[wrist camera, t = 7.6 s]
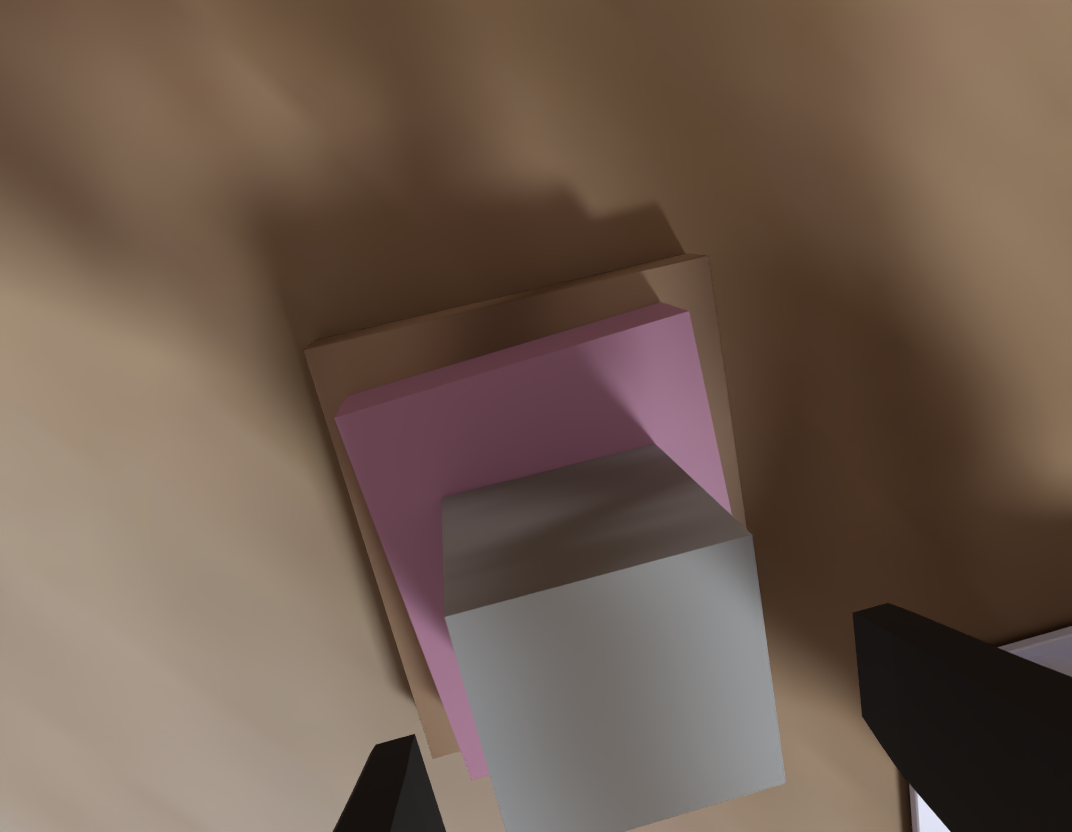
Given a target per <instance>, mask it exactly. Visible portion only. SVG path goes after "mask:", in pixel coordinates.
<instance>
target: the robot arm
mask: <svg viewBox="0 0 1072 832" xmlns="http://www.w3.org/2000/svg"><path fill="white" fill-rule="evenodd" d="M853 622H854V633H855V643H856V654H857V665H858V676H859V687H860V697H861V708H862V717H863V718H864V720H865V721H866V723H867V724H868V726H869V727H870V729H871V730H872V732H873V733H874V735H875V737H876V738H877V740H878V741H879V743H880V744H881V746H882V747H883V749H884V750H885V751H886V753H887V754H888V756H889V757H890V759H891V760H892V761H893V763H894V764H895V766H896V767H897V769H898V770H899V771H900V773H901V774H902V776H903V777H904V778H905V779H906V780H907V782H908V783H909V788H910V802H911V816H912V830H913V832H1072V626H1070V627H1067V628H1063V629H1060V630H1056V631H1053V632H1049V633H1046V634H1042V635H1039V636H1035V637H1032V638H1028V639H1025V640H1022V641H1018V642H1015V643H1011V644H1008V645H1004V646H1001V647H995V646H993V645H990V644H988V643H985V642H983V641H981V640H978V639H976V638H973V637H971V636H969V635H966V634H964V633H961V632H959V631H957V630H954V629H952V628H950V627H947V626H945V625H942V624H940V623H938V622H935V621H933V620H930V619H928V618H926V617H923V616H921V615H918V614H916V613H913V612H911V611H908V610H906V609H903V608H900V607H898V606H895V605H892V604H889V603H886V604H883V605H879V606H875V607H872V608H868V609H865V610H861V611H857V612H854V613H853ZM333 832H446V830H445V827H444V824H443V821H442V818H441V814H440V811H439V808H438V805H437V802H436V799H435V796H434V793H433V789H432V786H431V783H430V780H429V777H428V774H427V771H426V768H425V765H424V761H423V758H422V755H421V752H420V749H419V746H418V743H417V740H416V736H415V734H413V735H409V736H406V737H402V738H398V739H395V740H391V741H387V742H384V743H380V744H377V745H375V747H374V748H373V750H372V751H371V753H370V755H369V757H368V759H367V762H366V764H365V766H364V768H363V770H362V772H361V774H360V777H359V779H358V781H357V783H356V785H355V787H354V789H353V791H352V794H351V796H350V798H349V800H348V802H347V804H346V806H345V808H344V810H343V812H342V814H341V816H340V818H339V820H338V822H337V824H336V826H335V828H334V830H333Z"/></svg>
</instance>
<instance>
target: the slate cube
mask: <svg viewBox="0 0 1072 832" xmlns="http://www.w3.org/2000/svg"><path fill="white" fill-rule="evenodd" d="M441 502H442V540H443V577H444V615H445V620H446V624H447V627H448V631H449V634H450V638H451V641H452V645H453V648H454V652H455V655H456V659H457V662H458V666H459V669H460V673H461V676H462V680H463V683H464V687H465V690H466V694H467V697H468V701H469V704H470V708H471V711H472V715H473V718H474V722H475V725H476V729H477V732H478V736H479V739H480V743H481V746H482V750H483V753H484V757H485V760H486V764H487V767H488V771H489V774H490V778H491V781H492V785H493V788H494V792H495V795H496V799H497V802H498V806H499V809H500V813H501V816H502V820H503V823H504V827H505V830H506V832H624V831H628V830H631V829H634V828H638V827H641V826H644V825H648V824H651V823H654V822H658V821H661V820H664V819H668V818H671V817H674V816H678V815H681V814H684V813H688V812H691V811H694V810H698V809H701V808H704V807H708V806H711V805H714V804H718V803H721V802H724V801H728V800H731V799H734V798H738V797H741V796H744V795H748V794H751V793H754V792H758V791H761V790H764V789H768V788H771V787H774V786H778V785H781V784H784V783H786V780H785V773H784V765H783V758H782V751H781V743H780V736H779V729H778V721H777V714H776V706H775V699H774V692H773V684H772V677H771V670H770V662H769V655H768V647H767V640H766V633H765V625H764V618H763V611H762V603H761V596H760V588H759V581H758V574H757V566H756V559H755V552H754V544H753V537H752V534H751V533H750V532H749V531H748V530H747V529H746V528H745V527H744V526H742V525H741V524H740V523H739V522H738V521H737V520H736V519H735V518H734V517H733V516H732V515H731V514H730V513H729V512H728V511H726V510H725V509H724V508H723V507H722V506H721V505H720V504H719V503H718V502H717V501H716V500H715V499H714V498H713V497H712V496H711V495H709V494H708V493H707V492H706V491H705V490H704V489H703V488H702V487H701V486H700V485H699V484H698V483H697V482H696V481H695V480H693V479H692V478H691V477H690V476H689V475H688V474H687V473H686V472H685V471H684V470H683V469H682V468H681V467H680V466H679V465H677V464H676V463H675V462H674V461H673V460H672V459H671V458H670V457H669V456H668V455H667V454H666V453H665V452H664V451H663V450H662V449H660V448H659V447H658V446H657V445H656V444H652V445H648V446H644V447H640V448H636V449H632V450H628V451H624V452H620V453H616V454H612V455H608V456H604V457H600V458H596V459H593V460H589V461H585V462H581V463H577V464H573V465H569V466H565V467H561V468H557V469H553V470H549V471H545V472H541V473H537V474H533V475H529V476H525V477H522V478H518V479H514V480H510V481H506V482H502V483H498V484H494V485H490V486H486V487H482V488H478V489H474V490H470V491H466V492H462V493H458V494H454V495H451V496H447V497H443V498H441Z"/></svg>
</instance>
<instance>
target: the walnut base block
mask: <svg viewBox="0 0 1072 832" xmlns="http://www.w3.org/2000/svg"><path fill="white" fill-rule="evenodd" d="M660 302H662V303H665V304H669V305H672V306H675V307H678V308H681V309H684V310H687V311H689V313H690V318H691V323H692V328H693V332H694V337H695V342H696V347H697V351H698V356H699V361H700V366H701V370H702V375H703V380H704V385H705V389H706V394H707V399H708V404H709V408H710V413H711V418H712V423H713V427H714V432H715V437H716V442H717V446H718V451H719V456H720V461H721V465H722V470H723V475H724V480H725V484H726V489H727V494H728V499H729V503H730V508H731V513H732V516H733V517H734V518H735V519H736V520H737V521H738V522H739V523H740V524H741V525H742V526H744V527H745V528H746V529H747V527H746V520H745V513H744V505H743V498H742V491H741V484H740V477H739V470H738V463H737V455H736V448H735V441H734V434H733V427H732V420H731V413H730V406H729V398H728V391H727V384H726V377H725V370H724V363H723V356H722V349H721V341H720V334H719V327H718V320H717V313H716V306H715V299H714V292H713V284H712V277H711V270H710V263H709V256H706V255H693V254H683V255H679V256H674V257H670V258H666V259H661V260H657V261H653V262H649V263H644V264H640V265H636V266H631V267H627V268H623V269H619V270H614V271H610V272H606V273H601V274H597V275H593V276H589V277H584V278H580V279H576V280H571V281H567V282H563V283H559V284H554V285H550V286H546V287H541V288H537V289H533V290H529V291H524V292H520V293H516V294H511V295H507V296H503V297H499V298H494V299H490V300H486V301H481V302H477V303H473V304H469V305H464V306H460V307H456V308H451V309H447V310H443V311H439V312H434V313H430V314H426V315H421V316H417V317H413V318H409V319H404V320H400V321H396V322H391V323H387V324H383V325H379V326H374V327H370V328H366V329H361V330H357V331H353V332H349V333H344V334H340V335H336V336H331V337H327V338H323V339H319V340H315V341H314V342H313V343H312V344H310V345H309V346H308V347H307V348H306V349H305V350H303V351H304V354H305V357H306V360H307V364H308V367H309V370H310V373H311V376H312V379H313V382H314V386H315V389H316V392H317V395H318V398H319V401H320V405H321V408H322V411H323V414H324V417H325V420H326V423H327V427H328V430H329V433H330V436H331V439H332V442H333V446H334V449H335V452H336V455H337V458H338V461H339V465H340V468H341V471H342V474H343V477H344V480H345V483H346V487H347V490H348V493H349V496H350V499H351V502H352V506H353V509H354V512H355V515H356V518H357V521H358V524H359V528H360V531H361V534H362V537H363V540H364V543H365V547H366V550H367V553H368V556H369V559H370V562H371V566H372V569H373V572H374V575H375V578H376V581H377V584H378V588H379V591H380V594H381V597H382V600H383V603H384V607H385V610H386V613H387V616H388V619H389V622H390V626H391V629H392V632H393V635H394V638H395V641H396V644H397V648H398V651H399V654H400V657H401V660H402V663H403V667H404V670H405V673H406V676H407V679H408V682H409V685H410V689H411V692H412V695H413V698H414V701H415V704H416V708H417V711H418V714H419V717H420V720H421V723H422V727H423V730H424V733H425V736H426V739H427V742H428V745H429V749H430V752H431V755H432V758H433V759H434V758H437V757H441V756H444V755H448V754H451V753H455V752H459V751H460V748H459V745H458V743H457V740H456V738H455V735H454V732H453V730H452V727H451V724H450V722H449V719H448V717H447V714H446V711H445V709H444V706H443V703H442V701H441V698H440V695H439V693H438V690H437V688H436V685H435V682H434V680H433V677H432V674H431V672H430V669H429V667H428V664H427V661H426V659H425V656H424V653H423V651H422V648H421V645H420V643H419V640H418V638H417V635H416V632H415V630H414V627H413V624H412V622H411V619H410V617H409V614H408V611H407V609H406V606H405V603H404V601H403V598H402V595H401V593H400V590H399V588H398V585H397V582H396V580H395V577H394V574H393V572H392V569H391V567H390V564H389V561H388V559H387V556H386V553H385V551H384V548H383V545H382V543H381V540H380V538H379V535H378V532H377V530H376V527H375V524H374V522H373V519H372V517H371V514H370V511H369V509H368V506H367V503H366V501H365V498H364V495H363V493H362V490H361V488H360V485H359V482H358V480H357V477H356V474H355V472H354V469H353V467H352V464H351V461H350V459H349V456H348V453H347V451H346V448H345V445H344V443H343V440H342V438H341V435H340V432H339V430H338V427H337V424H336V422H335V419H334V417H335V415H336V414H337V412H338V410H339V409H340V407H341V405H342V403H343V402H344V400H345V398H346V397H347V396H350V395H353V394H356V393H360V392H363V391H366V390H370V389H373V388H376V387H380V386H383V385H386V384H390V383H393V382H396V381H400V380H403V379H406V378H410V377H413V376H416V375H420V374H423V373H426V372H430V371H433V370H436V369H440V368H443V367H446V366H450V365H453V364H456V363H460V362H463V361H466V360H470V359H473V358H476V357H480V356H483V355H486V354H490V353H493V352H496V351H500V350H503V349H506V348H510V347H513V346H516V345H520V344H523V343H526V342H530V341H533V340H536V339H540V338H543V337H546V336H550V335H553V334H556V333H560V332H563V331H566V330H570V329H573V328H576V327H580V326H583V325H586V324H590V323H593V322H596V321H600V320H603V319H606V318H610V317H613V316H616V315H620V314H623V313H626V312H630V311H633V310H636V309H640V308H643V307H646V306H650V305H653V304H657V303H660Z"/></svg>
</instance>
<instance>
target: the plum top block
mask: <svg viewBox="0 0 1072 832" xmlns="http://www.w3.org/2000/svg"><path fill="white" fill-rule="evenodd" d="M334 419H335V422H336V424H337V427H338V430H339V432H340V435H341V438H342V440H343V443H344V445H345V448H346V451H347V453H348V456H349V459H350V461H351V464H352V467H353V469H354V472H355V474H356V477H357V480H358V482H359V485H360V488H361V490H362V493H363V495H364V498H365V501H366V503H367V506H368V509H369V511H370V514H371V517H372V519H373V522H374V524H375V527H376V530H377V532H378V535H379V538H380V540H381V543H382V545H383V548H384V551H385V553H386V556H387V559H388V561H389V564H390V567H391V569H392V572H393V574H394V577H395V580H396V582H397V585H398V588H399V590H400V593H401V595H402V598H403V601H404V603H405V606H406V609H407V611H408V614H409V617H410V619H411V622H412V624H413V627H414V630H415V632H416V635H417V638H418V640H419V643H420V645H421V648H422V651H423V653H424V656H425V659H426V661H427V664H428V667H429V669H430V672H431V674H432V677H433V680H434V682H435V685H436V688H437V690H438V693H439V695H440V698H441V701H442V703H443V706H444V709H445V711H446V714H447V717H448V719H449V722H450V724H451V727H452V730H453V732H454V735H455V738H456V740H457V743H458V745H459V748H460V751H461V753H462V756H463V759H464V761H465V764H466V767H467V769H468V772H469V774H470V777H471V780H474V779H477V778H480V777H483V776H486V775H489V771H488V767H487V764H486V760H485V757H484V753H483V750H482V746H481V743H480V739H479V736H478V732H477V729H476V725H475V722H474V718H473V715H472V711H471V708H470V704H469V701H468V697H467V694H466V690H465V687H464V683H463V680H462V676H461V673H460V669H459V666H458V662H457V659H456V655H455V652H454V648H453V645H452V641H451V638H450V634H449V631H448V627H447V624H446V620H445V615H444V577H443V540H442V502H441V498H443V497H447V496H451V495H454V494H458V493H462V492H466V491H470V490H474V489H478V488H482V487H486V486H490V485H494V484H498V483H502V482H506V481H510V480H514V479H518V478H522V477H525V476H529V475H533V474H537V473H541V472H545V471H549V470H553V469H557V468H561V467H565V466H569V465H573V464H577V463H581V462H585V461H589V460H593V459H596V458H600V457H604V456H608V455H612V454H616V453H620V452H624V451H628V450H632V449H636V448H640V447H644V446H648V445H652V444H656V445H657V446H658V447H659V448H660V449H662V450H663V451H664V452H665V453H666V454H667V455H668V456H669V457H670V458H671V459H672V460H673V461H674V462H675V463H676V464H677V465H679V466H680V467H681V468H682V469H683V470H684V471H685V472H686V473H687V474H688V475H689V476H690V477H691V478H692V479H693V480H695V481H696V482H697V483H698V484H699V485H700V486H701V487H702V488H703V489H704V490H705V491H706V492H707V493H708V494H709V495H711V496H712V497H713V498H714V499H715V500H716V501H717V502H718V503H719V504H720V505H721V506H722V507H723V508H724V509H725V510H726V511H728V512H729V513H730V514H731V515H732V513H731V508H730V503H729V499H728V494H727V489H726V484H725V480H724V475H723V470H722V465H721V461H720V456H719V451H718V446H717V442H716V437H715V432H714V427H713V423H712V418H711V413H710V408H709V404H708V399H707V394H706V389H705V385H704V380H703V375H702V370H701V366H700V361H699V356H698V351H697V347H696V342H695V337H694V332H693V328H692V323H691V318H690V313H689V311H687V310H684V309H681V308H678V307H675V306H672V305H669V304H665V303H662V302H660V303H657V304H653V305H650V306H646V307H643V308H640V309H636V310H633V311H630V312H626V313H623V314H620V315H616V316H613V317H610V318H606V319H603V320H600V321H596V322H593V323H590V324H586V325H583V326H580V327H576V328H573V329H570V330H566V331H563V332H560V333H556V334H553V335H550V336H546V337H543V338H540V339H536V340H533V341H530V342H526V343H523V344H520V345H516V346H513V347H510V348H506V349H503V350H500V351H496V352H493V353H490V354H486V355H483V356H480V357H476V358H473V359H470V360H466V361H463V362H460V363H456V364H453V365H450V366H446V367H443V368H440V369H436V370H433V371H430V372H426V373H423V374H420V375H416V376H413V377H410V378H406V379H403V380H400V381H396V382H393V383H390V384H386V385H383V386H380V387H376V388H373V389H370V390H366V391H363V392H360V393H356V394H353V395H350V396H347V397H346V398H345V400H344V402H343V403H342V405H341V407H340V409H339V410H338V412H337V414H336V415H335V417H334Z"/></svg>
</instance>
